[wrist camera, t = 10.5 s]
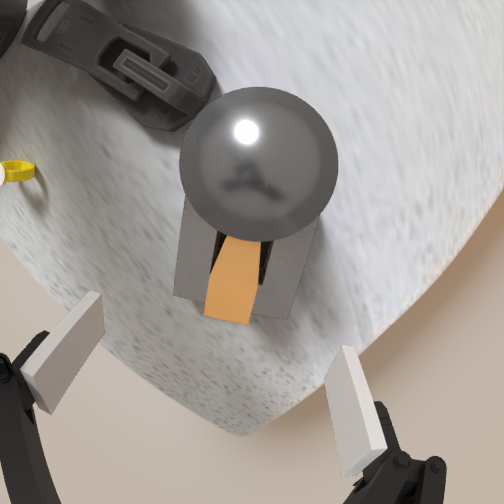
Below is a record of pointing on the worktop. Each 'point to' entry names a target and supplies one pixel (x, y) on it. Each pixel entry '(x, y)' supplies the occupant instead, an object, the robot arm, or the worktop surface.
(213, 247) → the grey l-shaped piece
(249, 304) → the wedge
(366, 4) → the worktop surface
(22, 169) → the watch
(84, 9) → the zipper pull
